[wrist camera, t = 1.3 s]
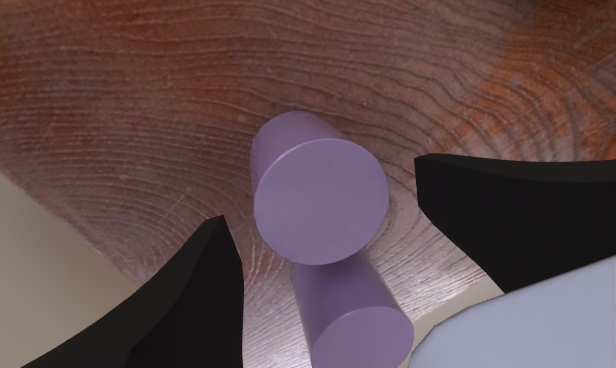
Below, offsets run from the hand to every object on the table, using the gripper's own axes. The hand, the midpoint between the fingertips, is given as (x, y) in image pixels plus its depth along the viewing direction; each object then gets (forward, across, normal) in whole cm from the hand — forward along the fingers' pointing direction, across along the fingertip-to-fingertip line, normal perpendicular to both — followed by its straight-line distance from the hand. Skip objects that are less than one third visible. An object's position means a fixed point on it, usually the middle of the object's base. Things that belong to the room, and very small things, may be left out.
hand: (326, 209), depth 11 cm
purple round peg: (+6, 0, +8) cm, 10 cm away
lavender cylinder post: (+6, 0, 0) cm, 6 cm away
